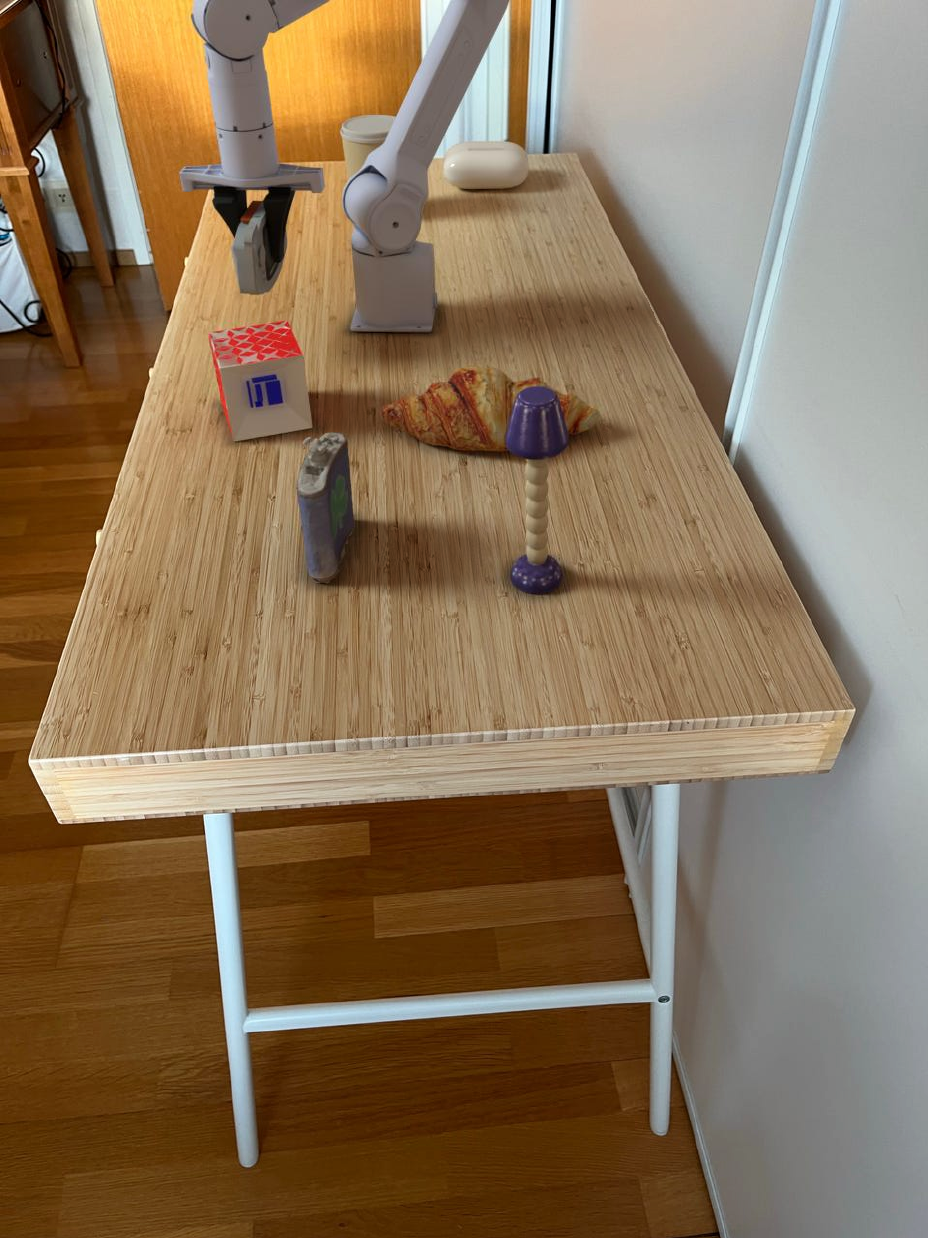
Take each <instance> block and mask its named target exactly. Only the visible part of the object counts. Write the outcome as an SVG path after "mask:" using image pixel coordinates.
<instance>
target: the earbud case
mask: <svg viewBox="0 0 928 1238" xmlns="http://www.w3.org/2000/svg"><path fill="white" fill-rule="evenodd" d="M528 157H529V156H528V153H527V152H526V150H525V149H524V148H523V147H522V146H521V145H519V144H517V143H515V142H511V141H505V140H488V141H487V140H484V141H483V140H481V141H479V140H477V141H476V140H475V141H462V142H458V143H456V144H453V145H452V146H450V147H449V148H448V149H447V150H446V152H445V153H444V155H443V160H442V161H443V162H442V173H443V177H444V179H445V180H446V182H448V183H449V184H450V185H452V186H453V187H455V188H458V189H463V190H504V189H505V190H506V189H511V188H516V187H517V186H520V185H521V184H523V182H525V180H526V179H527V178H528V176H529V171H530V167H529V166H530V165H529V158H528Z"/></svg>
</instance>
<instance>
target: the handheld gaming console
mask: <svg viewBox="0 0 928 1238" xmlns="http://www.w3.org/2000/svg"><path fill="white" fill-rule="evenodd" d="M263 200H264V198H263ZM263 200H252V201H251V202H250V204H249V205H248V206H247V210H246V211H245V213H244V214H243V216H242V217H241V219H240V221H241V223H240V224H239V226H238V229H237V232H236V236H235V239H233V242H232V244H231V246H230V250H231V255H232V260H233V265H234V271H235V275H236V280H237V281H236V282H237V287H238V291H239V294H242V295H243V294H245V295H251V296H260V295H264V294H265V293H269V292H271V291H272V289H273V288H274V286H275V285H276V282H277V281H278V279H279V276H280V274H281V272H282V268H283V264H284V261H285V260H284V259H285V257H286V253H287V248H288V234H287V233H288V232H287V230H286V231H285V239H284V257H283V259H282V261H281V262H280V263H274V260H273V255H272V245H271V234H270V229H269V224H268V220H267V216H266V212H265V208H264V205H263Z"/></svg>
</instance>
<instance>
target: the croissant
mask: <svg viewBox="0 0 928 1238" xmlns="http://www.w3.org/2000/svg"><path fill="white" fill-rule="evenodd" d="M532 386H543V387H548V388H550V389H552V390H553V391H555V393H556V394H557V396H558V398H559V401H560V405H561V409H562V412H563V416H564V419H565V423H566V427H567V431H568V435H578V434H581V433H583V432H585V431H588V430H590V429H592V428H593V427H594V426H595V425H596V424H597V423H598V421H599V419H600V416H601V414H600V411H599V410H598V409H597V408H596V407H591V406H590V405H588V403H587V402H586V401H584V400H582V398H580V397H577V396H578V395H576V394H574V393H568V394H563V393H561V392H560V391H559V390H558V389H555V388H553V387H551V386H550V385H549V384H548V383H547V382H545V381H542V380H541V378H540V376H537V377H533V378H529V379H525V380H516V381H513V380H512V378H510V377H509V376H508V375H507V374H506V373H505V372H504V371H503V370H501V369H499V368H496V367H493V366H492V367H489V366H488V365H487V366H486V365H482V366H481V365H480V366H477V365H470V366H467V367H461V368H459V369H458V370H455V371H453V372H452V375H451V377H450V378H449V380H448V381H437V382H433V383H431V384H430V385H429V387H428V388H427V390H426V391H425V392H424V393H422V394H421V395H420V396H419V394H416V393H412V394H407V395H404V396H403V397H401V398H399V399H398V400H396V401H395V402H394V403H385V404H382V405H381V414H382V418H383V419H384V420H385V422H386V424H387V425H389V426H390V427H392V428H395V429H397V430H401V431H402V432H405V433H406V434H410V435H411V436H413V437H414V438H416V439H417V440H419V441H421V442H423V443H424V444H430V445H431V446H441V447H448V448H450V449H453V450H457V451H465V452H466V451H467V452H468V451H469V452H478V451H484V452H508V451H509V450H508V448H507V446H506V443H505V436H506V431H507V427H508V424H509V420H510V416H511V413H512V409H513V405H514V402H515V399H516V396H517V394H518V393H519V392H520V391H521V390H523V389H525V388H527V387H532Z"/></svg>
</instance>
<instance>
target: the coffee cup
mask: <svg viewBox="0 0 928 1238" xmlns="http://www.w3.org/2000/svg"><path fill="white" fill-rule="evenodd" d="M395 118H396V116H394V115H388V114H387V115H386V114H367V115H360V116H359V115H358V116H354V117H351V118H348V119H346V120H345V121H344V122H342V124H341V128H340V130H339V134H340V137H341V141H342V147H343V157H344V162H345V169H346V170H345V171H346V175H347V177H346V178H347V181H348V180H349V179H350V178H351V177H352V176H353V175H354V174H356V173H357V172H358V171H359V170H360V169H361V168H362V166H363V165H364V163H365V161H366V159H367V157H368V155H369V154H370V153H371V152H373V151H374V150H375V149H377V148H378V147H380V146H381V145H382V144H383V143H384V142H385V140H386V138H387V135H388V133H389V131H390V129H391V127H392V125H393V123H394V120H395Z"/></svg>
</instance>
